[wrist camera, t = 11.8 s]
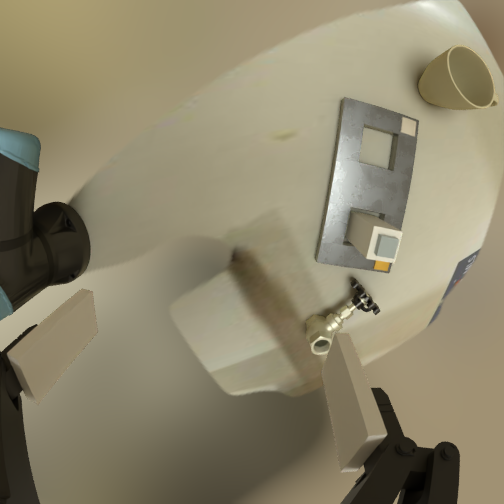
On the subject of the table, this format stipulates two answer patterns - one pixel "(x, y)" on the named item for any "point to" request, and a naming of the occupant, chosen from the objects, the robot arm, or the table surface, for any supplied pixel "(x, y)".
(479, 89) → the mug
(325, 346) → the valve
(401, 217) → the grey slotted tray
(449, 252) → the table surface
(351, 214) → the plug
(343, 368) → the robot arm
